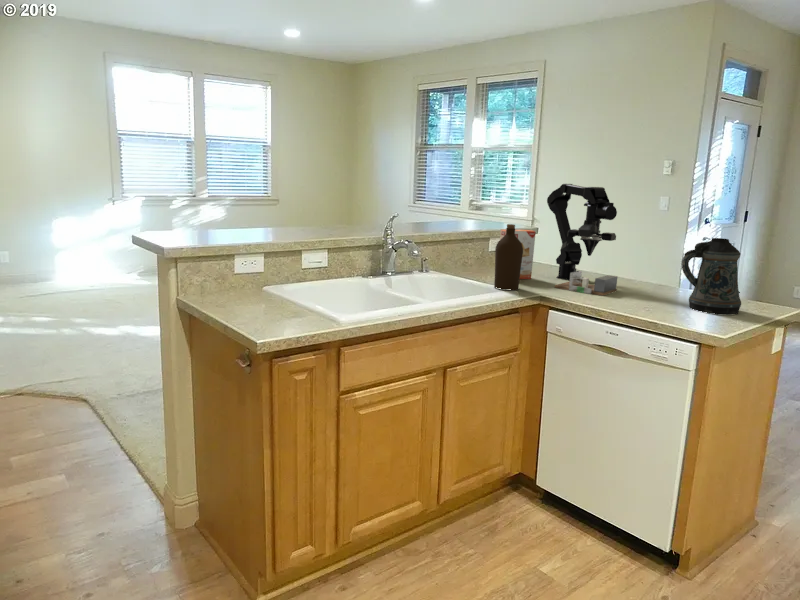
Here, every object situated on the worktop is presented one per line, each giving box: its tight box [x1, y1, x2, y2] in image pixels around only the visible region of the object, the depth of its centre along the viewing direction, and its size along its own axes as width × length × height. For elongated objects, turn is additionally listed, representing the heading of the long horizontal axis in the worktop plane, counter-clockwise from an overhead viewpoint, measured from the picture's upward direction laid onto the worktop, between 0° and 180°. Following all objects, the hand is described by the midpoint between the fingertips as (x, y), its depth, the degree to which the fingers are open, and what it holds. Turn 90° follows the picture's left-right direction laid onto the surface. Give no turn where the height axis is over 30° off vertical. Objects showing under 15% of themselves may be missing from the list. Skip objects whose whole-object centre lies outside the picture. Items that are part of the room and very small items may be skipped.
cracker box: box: [499, 228, 537, 280], centre depth 260 cm, size 14×6×21 cm, turn 107°
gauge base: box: [554, 280, 618, 296], centre depth 242 cm, size 20×15×2 cm
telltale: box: [581, 277, 590, 288], centre depth 236 cm, size 2×2×4 cm
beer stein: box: [681, 237, 742, 315], centre depth 211 cm, size 16×19×25 cm
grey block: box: [568, 270, 587, 285], centre depth 243 cm, size 5×10×5 cm, turn 139°
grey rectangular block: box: [594, 274, 618, 293], centre depth 237 cm, size 4×12×5 cm, turn 139°
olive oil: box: [493, 223, 523, 291], centre depth 236 cm, size 11×11×25 cm
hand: (589, 255), depth 252 cm, fingers closed
